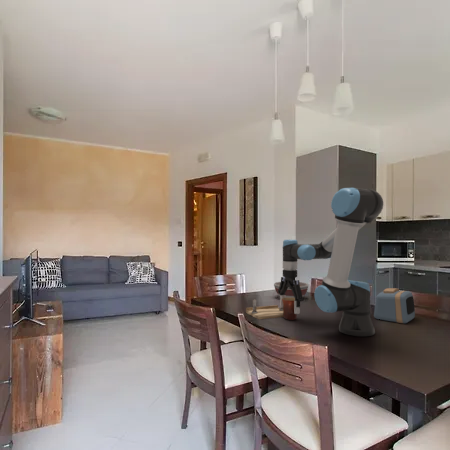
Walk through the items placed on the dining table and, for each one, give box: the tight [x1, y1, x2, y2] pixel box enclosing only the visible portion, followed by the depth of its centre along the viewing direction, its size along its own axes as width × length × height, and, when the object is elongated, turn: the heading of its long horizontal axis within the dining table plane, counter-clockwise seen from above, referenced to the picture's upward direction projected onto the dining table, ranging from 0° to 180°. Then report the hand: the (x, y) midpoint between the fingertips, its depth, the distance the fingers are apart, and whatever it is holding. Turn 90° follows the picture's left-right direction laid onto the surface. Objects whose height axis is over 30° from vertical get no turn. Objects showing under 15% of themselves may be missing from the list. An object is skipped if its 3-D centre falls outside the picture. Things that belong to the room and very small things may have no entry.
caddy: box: [245, 299, 284, 320], centre depth 190 cm, size 16×20×8 cm
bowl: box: [273, 281, 309, 298], centre depth 235 cm, size 23×23×10 cm
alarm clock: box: [373, 287, 416, 324], centre depth 180 cm, size 16×16×16 cm
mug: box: [282, 297, 299, 321], centre depth 179 cm, size 12×9×10 cm
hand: (289, 310), depth 179 cm, fingers open, 13 cm apart
